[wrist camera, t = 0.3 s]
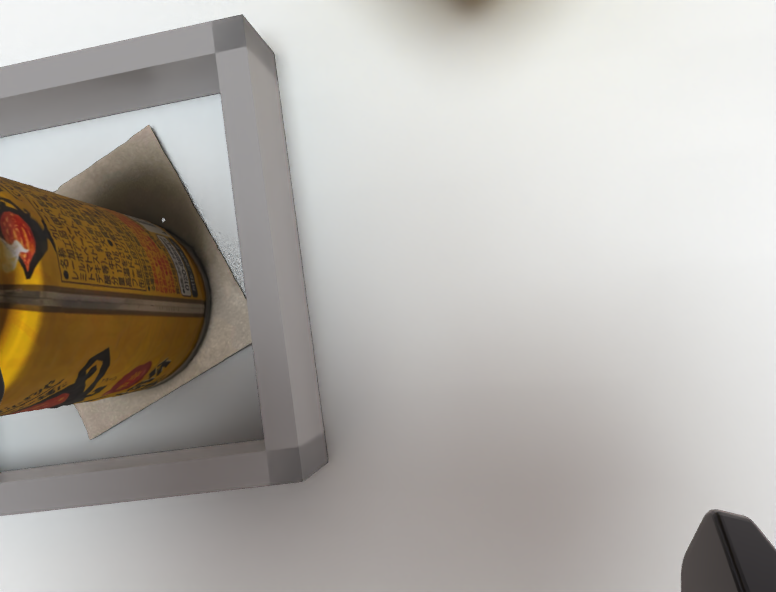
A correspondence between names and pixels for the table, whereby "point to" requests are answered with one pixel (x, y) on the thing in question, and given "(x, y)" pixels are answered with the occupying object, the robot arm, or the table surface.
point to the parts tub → (257, 246)
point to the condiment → (111, 290)
